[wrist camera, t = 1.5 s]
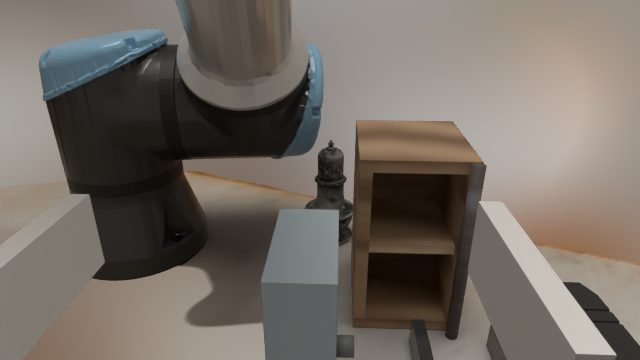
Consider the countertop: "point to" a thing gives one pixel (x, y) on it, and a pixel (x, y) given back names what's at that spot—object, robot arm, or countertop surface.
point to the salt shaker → (332, 189)
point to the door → (303, 288)
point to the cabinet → (412, 223)
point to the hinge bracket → (422, 349)
